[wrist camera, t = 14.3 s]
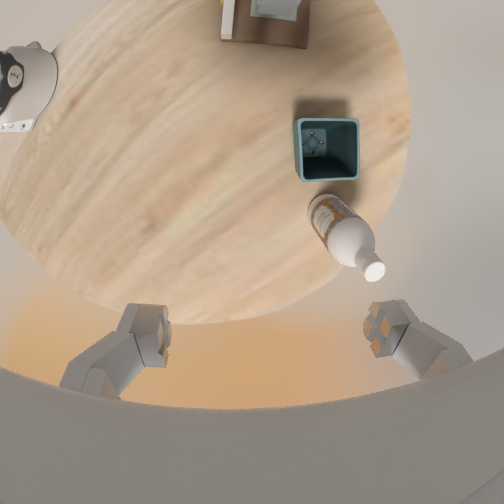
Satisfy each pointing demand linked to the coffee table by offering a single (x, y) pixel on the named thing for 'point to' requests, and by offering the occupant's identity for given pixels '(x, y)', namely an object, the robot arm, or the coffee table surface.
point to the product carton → (278, 7)
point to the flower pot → (326, 149)
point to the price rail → (227, 18)
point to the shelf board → (270, 25)
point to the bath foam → (345, 235)
